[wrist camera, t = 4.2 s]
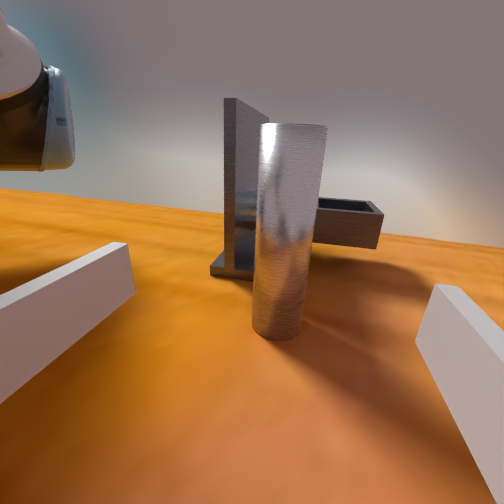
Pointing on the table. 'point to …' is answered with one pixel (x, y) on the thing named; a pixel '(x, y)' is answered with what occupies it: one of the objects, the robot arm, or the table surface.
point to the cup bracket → (245, 200)
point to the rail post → (285, 224)
